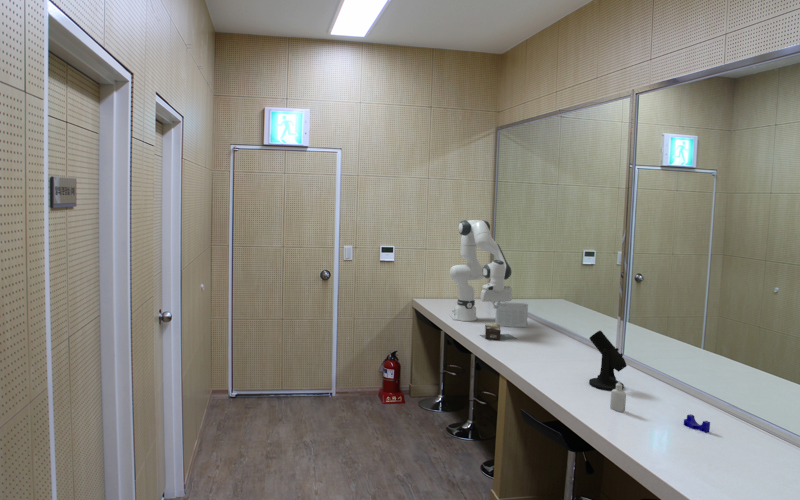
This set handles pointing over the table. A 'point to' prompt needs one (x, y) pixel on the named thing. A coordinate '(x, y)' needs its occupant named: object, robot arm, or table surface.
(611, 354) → the microphone
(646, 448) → the table surface
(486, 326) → the coffee box
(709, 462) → the table surface
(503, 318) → the skincare box
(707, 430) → the cable holder
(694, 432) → the table surface
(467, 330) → the table surface
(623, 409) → the eye dropper bottle
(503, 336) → the mat
